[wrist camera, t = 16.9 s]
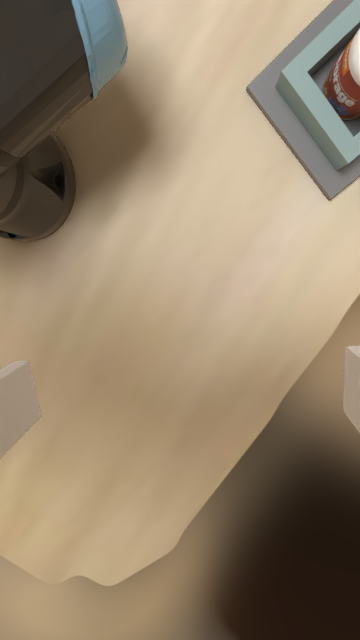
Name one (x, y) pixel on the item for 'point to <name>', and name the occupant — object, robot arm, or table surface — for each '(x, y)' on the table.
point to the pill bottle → (345, 82)
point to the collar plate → (288, 118)
